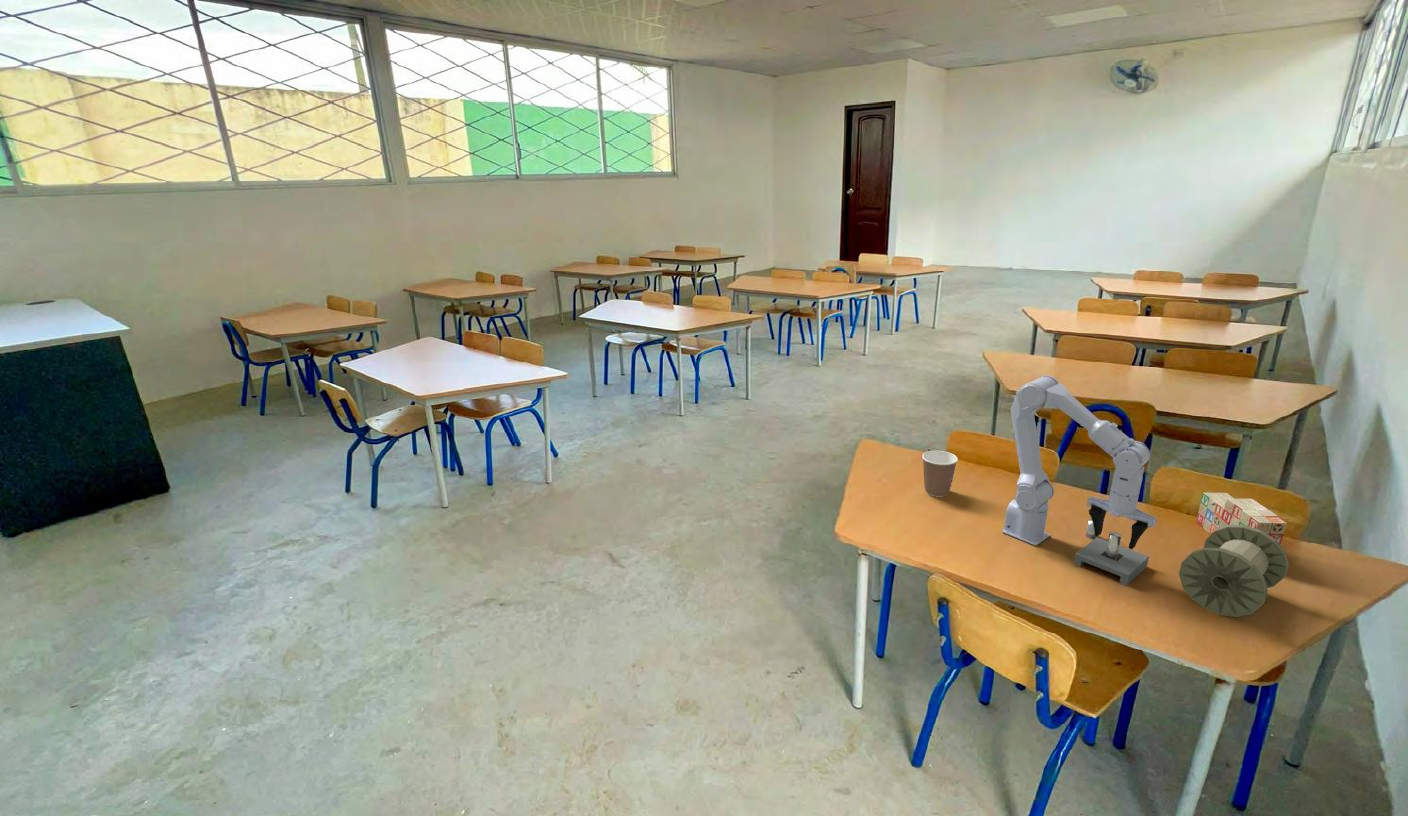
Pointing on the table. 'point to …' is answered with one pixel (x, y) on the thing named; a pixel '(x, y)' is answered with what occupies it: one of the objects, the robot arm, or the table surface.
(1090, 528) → the short pin
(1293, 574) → the table surface
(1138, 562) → the board
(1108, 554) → the long pin
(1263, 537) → the spool
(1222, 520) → the stack of blocks
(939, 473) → the coffee cup
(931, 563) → the table surface
